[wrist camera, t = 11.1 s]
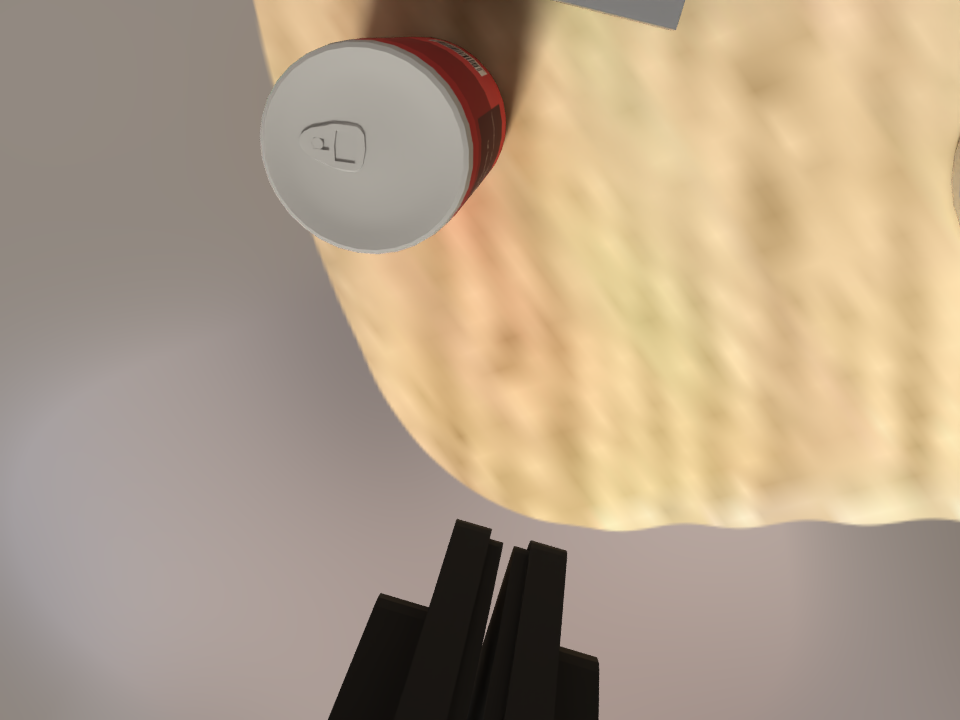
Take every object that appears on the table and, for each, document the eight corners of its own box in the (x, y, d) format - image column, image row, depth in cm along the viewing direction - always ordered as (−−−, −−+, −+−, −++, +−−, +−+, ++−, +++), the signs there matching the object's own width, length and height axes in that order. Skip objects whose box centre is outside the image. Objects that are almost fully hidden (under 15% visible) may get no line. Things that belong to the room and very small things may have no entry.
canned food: (336, 50, 36) (232, 58, 26) (496, 22, 35) (451, 20, 25) (368, 206, 39) (286, 266, 29) (518, 187, 37) (485, 244, 28)
